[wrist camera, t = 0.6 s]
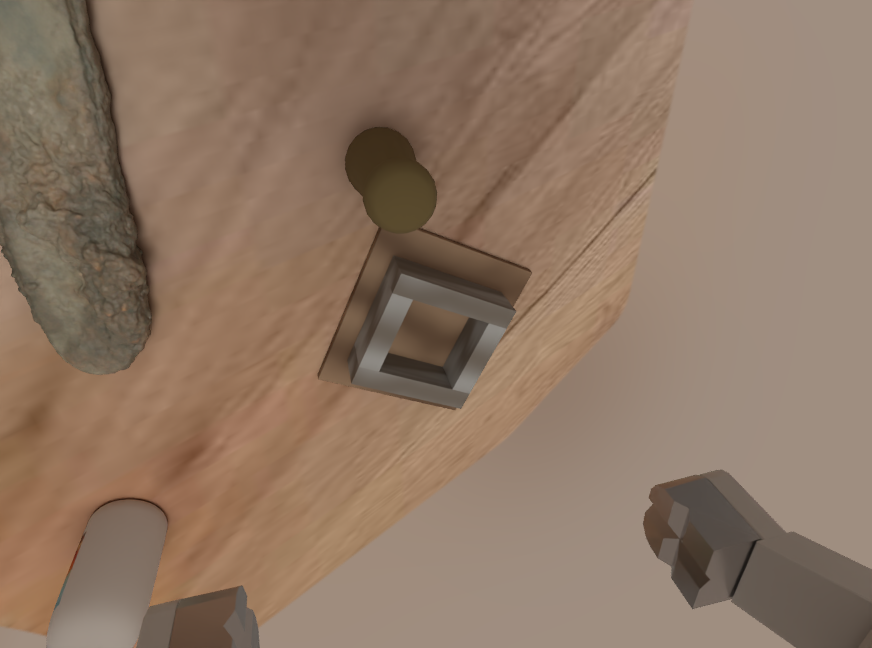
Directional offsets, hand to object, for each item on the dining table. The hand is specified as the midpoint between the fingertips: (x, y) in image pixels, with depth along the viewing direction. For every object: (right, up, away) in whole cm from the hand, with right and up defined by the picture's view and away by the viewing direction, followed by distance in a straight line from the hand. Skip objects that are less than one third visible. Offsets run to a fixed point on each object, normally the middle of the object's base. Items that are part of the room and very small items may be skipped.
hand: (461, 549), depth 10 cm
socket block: (-2, +5, +43) cm, 43 cm away
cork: (-5, +18, +34) cm, 39 cm away
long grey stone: (-28, +17, +29) cm, 44 cm away
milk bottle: (-34, -17, +47) cm, 61 cm away
